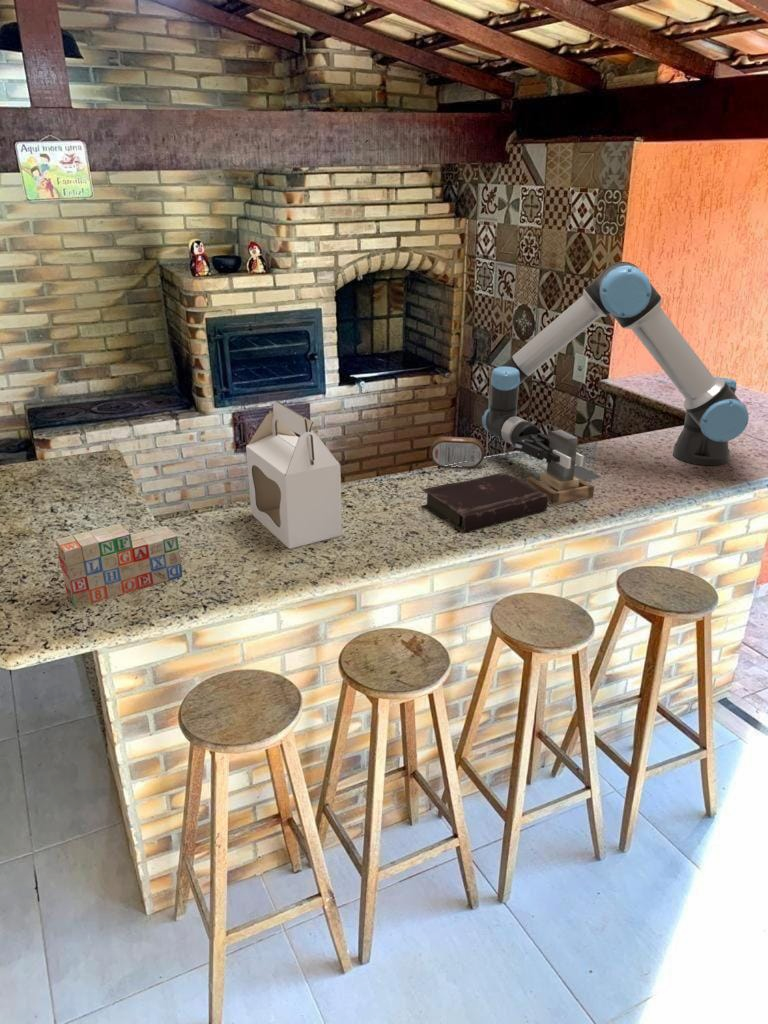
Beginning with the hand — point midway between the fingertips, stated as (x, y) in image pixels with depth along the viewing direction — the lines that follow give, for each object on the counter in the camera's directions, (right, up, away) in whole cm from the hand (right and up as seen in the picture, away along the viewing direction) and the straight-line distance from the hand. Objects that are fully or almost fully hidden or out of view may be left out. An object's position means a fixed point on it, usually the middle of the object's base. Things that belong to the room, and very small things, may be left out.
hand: (575, 462), depth 185 cm
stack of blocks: (-98, -27, -34) cm, 107 cm away
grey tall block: (-2, -5, +8) cm, 9 cm away
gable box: (-67, -15, -8) cm, 70 cm away
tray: (-2, -8, +9) cm, 12 cm away
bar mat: (+5, -2, +21) cm, 21 cm away
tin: (-26, 0, +27) cm, 38 cm away
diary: (-22, -12, +1) cm, 25 cm away
